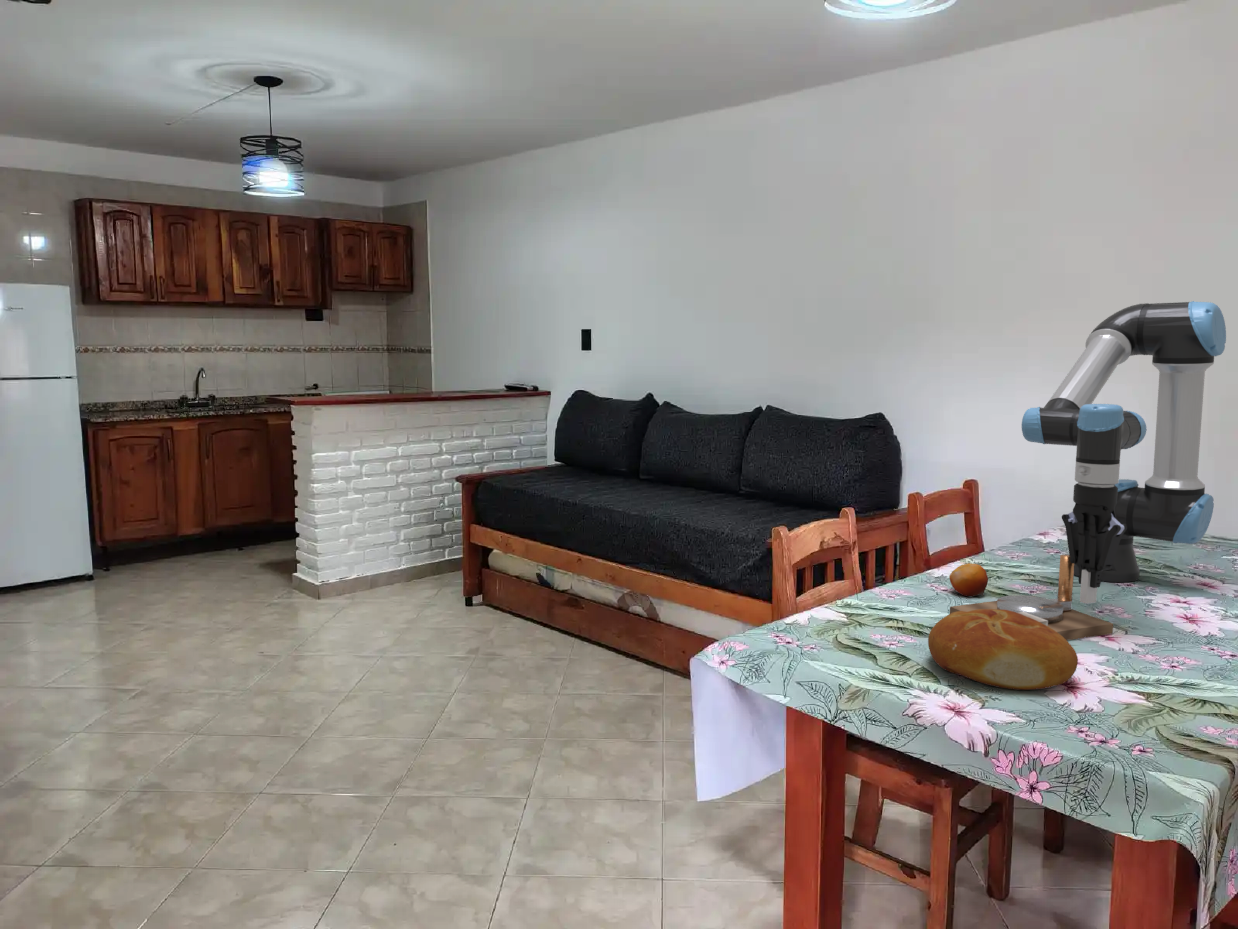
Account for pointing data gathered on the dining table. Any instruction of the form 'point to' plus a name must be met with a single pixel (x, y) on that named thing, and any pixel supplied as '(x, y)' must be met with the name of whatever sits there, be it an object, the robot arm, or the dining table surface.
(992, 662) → the bread
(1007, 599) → the cam disc
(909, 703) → the dining table surface
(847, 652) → the dining table surface
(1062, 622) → the board
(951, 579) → the fruit
